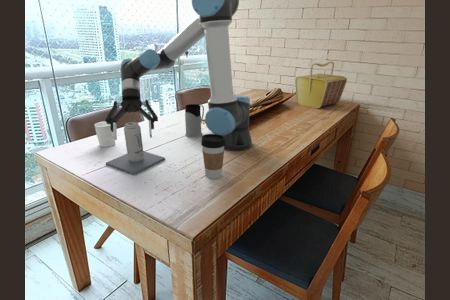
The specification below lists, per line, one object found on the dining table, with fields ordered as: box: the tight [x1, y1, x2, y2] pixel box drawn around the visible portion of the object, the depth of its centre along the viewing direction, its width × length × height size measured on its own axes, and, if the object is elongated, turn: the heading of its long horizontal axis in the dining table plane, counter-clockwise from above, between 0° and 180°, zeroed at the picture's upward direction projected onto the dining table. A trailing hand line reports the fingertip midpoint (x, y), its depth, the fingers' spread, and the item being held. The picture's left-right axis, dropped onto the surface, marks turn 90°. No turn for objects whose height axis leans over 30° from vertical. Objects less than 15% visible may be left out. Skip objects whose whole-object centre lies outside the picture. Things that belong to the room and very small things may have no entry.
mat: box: [105, 150, 166, 176], centre depth 108 cm, size 16×16×1 cm
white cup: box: [94, 120, 116, 148], centre depth 124 cm, size 8×8×10 cm
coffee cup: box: [200, 133, 225, 180], centre depth 96 cm, size 8×8×15 cm
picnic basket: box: [294, 61, 348, 110], centre depth 197 cm, size 29×26×30 cm
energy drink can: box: [123, 121, 144, 162], centre depth 105 cm, size 6×6×15 cm
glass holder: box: [184, 103, 205, 139], centre depth 138 cm, size 9×14×15 cm, turn 152°
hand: (133, 137), depth 108 cm, fingers open, 13 cm apart
